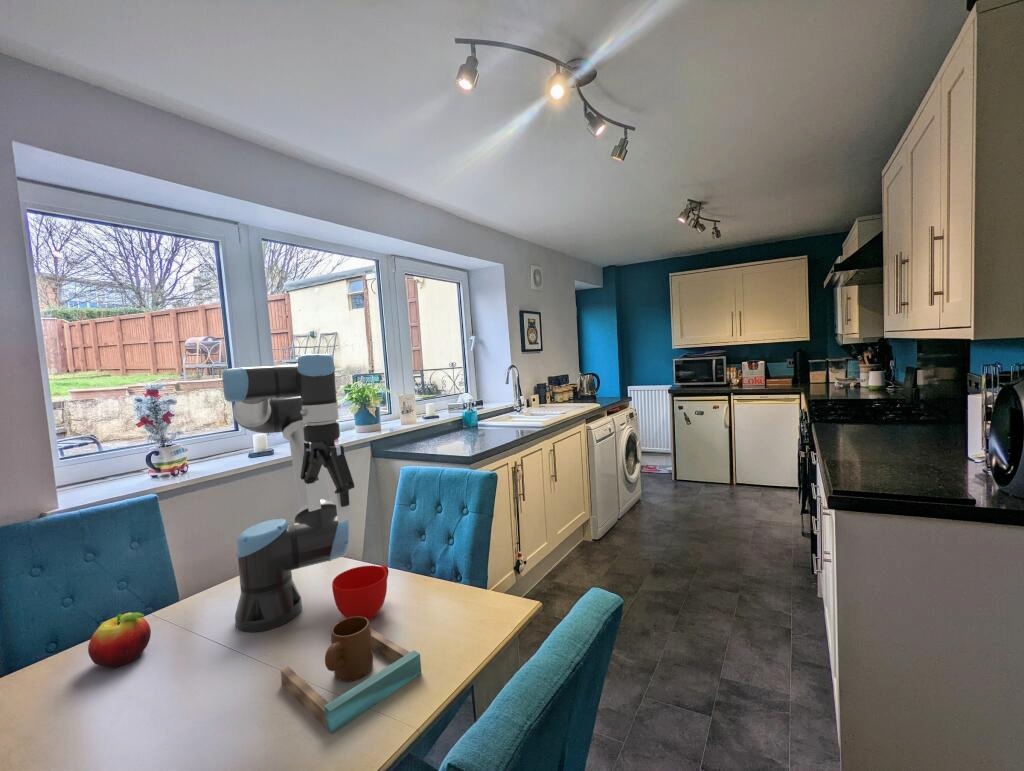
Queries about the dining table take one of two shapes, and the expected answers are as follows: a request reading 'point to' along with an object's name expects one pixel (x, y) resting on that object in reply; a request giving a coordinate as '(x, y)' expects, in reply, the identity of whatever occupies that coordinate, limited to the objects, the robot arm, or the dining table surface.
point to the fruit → (119, 640)
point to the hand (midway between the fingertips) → (328, 515)
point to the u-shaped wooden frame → (362, 694)
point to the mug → (350, 649)
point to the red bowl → (360, 591)
